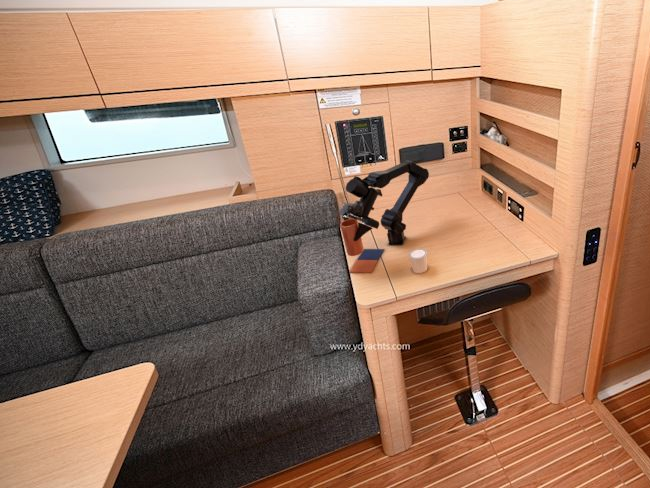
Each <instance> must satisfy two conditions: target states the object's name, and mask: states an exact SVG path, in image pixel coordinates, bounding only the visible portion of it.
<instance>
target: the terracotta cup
mask: <svg viewBox="0 0 650 488" xmlns="http://www.w3.org/2000/svg"><path fill="white" fill-rule="evenodd" d="M358 222H359V220H356V219H347V220H345V221H344V220H342V221H341V222H340V224H339V225H340V230H341V233H342V239H343V243H344V246H345V250H346V253H347V256H348V257H349V256H350V257H356V256H360V255H361V253H362V252H363V251H364V249H365V248H364V244H363V239H362V237H361V238H359V239H358V240H357V241H354V237H355V235H356V232H357V230H358Z"/></svg>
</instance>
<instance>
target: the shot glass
mask: <svg viewBox="0 0 650 488" xmlns="http://www.w3.org/2000/svg"><path fill="white" fill-rule="evenodd" d="M408 257H409V261H410V265H411V269H412V271H413V272H414V273H416V274H422V273H425V272H426V271H427V270H428V252H427V250H426V249H424V248H416V249H413V250H411V251H410V252H409V253H408Z"/></svg>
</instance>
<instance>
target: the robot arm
mask: <svg viewBox="0 0 650 488" xmlns="http://www.w3.org/2000/svg"><path fill="white" fill-rule="evenodd" d="M406 173H407V174H408V182H407V184H406V185H405V186H404V189H403V190H402V192H401V193H400V195H399V197H398V198H397V200H396V202H395V203H394V204H393V207H392V208H390V209H388V208H386V209H385V210H384V212H383V214H382V215H381V218H380V221H378V220H376V219H375V218H372V217H369V215H370V213H371V211H374V210H375V207H374V204H375V202H376V200H377V198H378V197H383V193H382V190H381V189H383V188H385V187H387V186H388V185H389V184H390V183H391V181H392V180H394V179H396V178H398V177H401V176H403V175H404V174H406ZM429 176H430V173H429V170H428V168H426V167H423V166H420V165H419V164H417V163H415V162H414V161H411V160H404V161H403V162H401V163H398V164H396V165H393V166H392V167H390V168H387V169H385V170H376V171H371V172H369V173H368V175H367V176H365V177H364V178H361V177H359V176H356V175H354V176H353V178H352V179H350V180H349V181H348V182H346V186H345V191H346V192H347V193H349V194H351V195H353V196H355V197H357V198H359V200H356V201H355V202H354V203H350V202H349V203H348V202H342V206H341V208H340V210H339V211H338V214H339V215H341V218H342V219H343V221H345V220H347V219H356V220H357V221H358V230H357V232H356V235H355V237H354V241H357V240H358V239H359V238H361V239H362V237H363V236H364V235H365V234H367V233H369V232H370V231H371V230H373V228H374V229H376V230H378V229H379V227H380V225H381V227H382V228H384V229H385V230H387V233H386V235H387V240H388V245H389V246H402V245H404V242H405V240H406V239H407V237H406V235H405V230H406V229H407V224H406V223H404V222H403V214H404V212H405V210H406V208H407V207H408V205H409V203H410V201H411V200H412V199H413V197H414V195H415V193H416V191H417V189H418V188H420V187H421V186H422V185H423V184H425V183H426V181H428V179H429Z"/></svg>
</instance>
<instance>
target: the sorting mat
mask: <svg viewBox="0 0 650 488" xmlns="http://www.w3.org/2000/svg"><path fill="white" fill-rule="evenodd" d="M384 251H385V249H384V248H364V251H363V252H362V253H361V254H359V255H358V256H359V257H358V258H357V259H356V261H355V262H354V263H353V265H352V267H351V269H350V270H349V274H351V273H352V274H355V273H357V274H372V272H373V270H374V268H376V265H377V263H378V262H379V260H380V258H381V256H382V254H383V253H384Z"/></svg>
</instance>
